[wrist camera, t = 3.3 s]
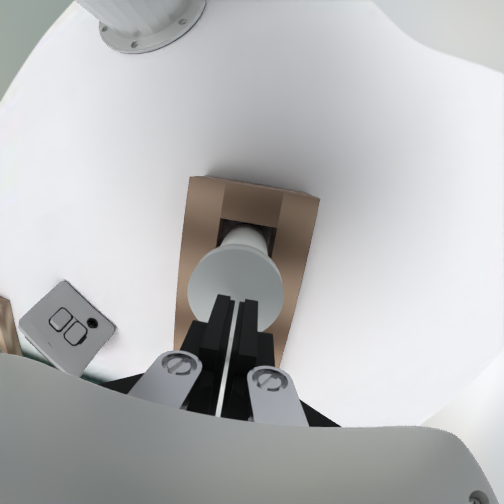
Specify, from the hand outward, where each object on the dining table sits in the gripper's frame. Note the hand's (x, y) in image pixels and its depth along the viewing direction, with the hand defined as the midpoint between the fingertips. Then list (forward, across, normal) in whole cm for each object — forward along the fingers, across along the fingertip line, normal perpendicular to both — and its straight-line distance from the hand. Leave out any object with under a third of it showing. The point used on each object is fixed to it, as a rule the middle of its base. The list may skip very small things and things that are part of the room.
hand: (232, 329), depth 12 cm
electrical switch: (+18, +19, +14) cm, 30 cm away
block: (+18, 0, +7) cm, 19 cm away
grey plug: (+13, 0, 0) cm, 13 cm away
